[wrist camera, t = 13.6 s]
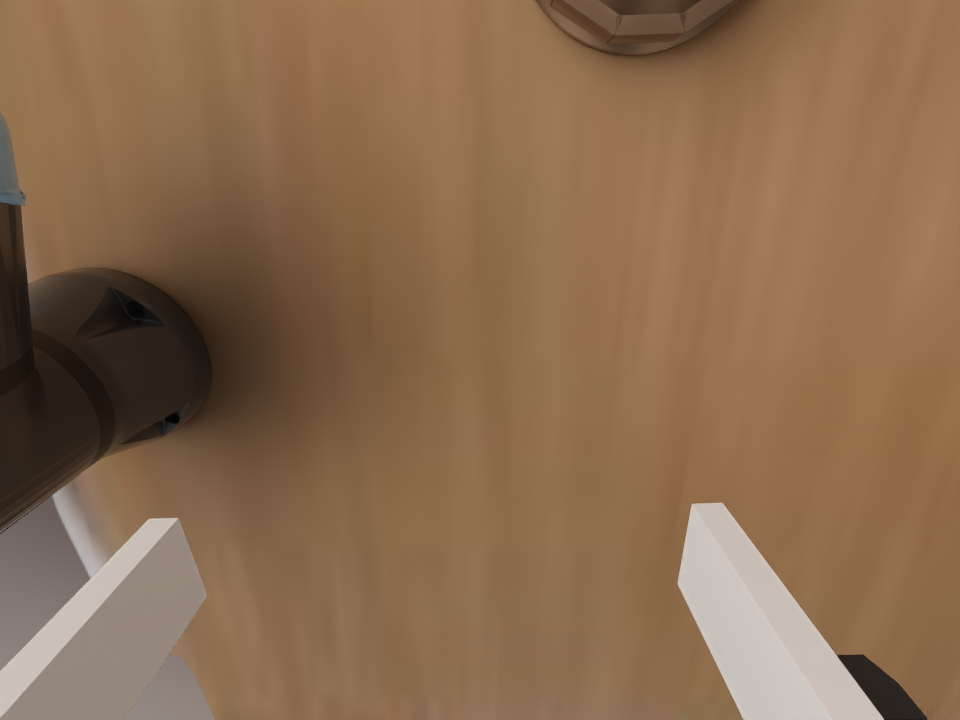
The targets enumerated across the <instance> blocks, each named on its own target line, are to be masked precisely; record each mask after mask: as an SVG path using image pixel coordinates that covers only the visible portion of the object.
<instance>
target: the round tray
mask: <svg viewBox="0 0 960 720" xmlns="http://www.w3.org/2000/svg"><path fill="white" fill-rule="evenodd" d="M536 1H537V2H538V4H539V5H540V7H541V8H542V9H543V11H544V12H545V14H546V15H547V16H548V17H549V18H550V19H551V20H552V21H553V22H554V23H555V24H556V25H557V26H558V27H559V28H560V29H561V30H563V31H564V32H565V33H566V34H568V35H569V36H570V37H571V38H573V39H575V40H577V41H578V42H580V43H582V44H584V45H585V46H588V47H590V48H593V49H596V50H598V51H601V52H606V53H611V54H616V55H632V56H635V55H644V54H651V53H655V52H659V51H663V50H666V49H669V48H672V47H674V46H676V45H679V44H681V43H683V42H685V41H687V40H689V39H690V38H692V37H694V36H696V35H697V34H699V33H701V32H702V31H704V30H705V29H706V28H708V27H709V26H710V25H712V24H713V23H714V22H716V21H717V20H718V19H720V18H721V17H722V16H723V15H724V14H725V13H726V12H727V11H728V10H730V9H731V8H732V7H733V6H734V5H735V4H736V3H737V2H738V1H739V0H536Z"/></svg>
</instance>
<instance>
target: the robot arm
mask: <svg viewBox="0 0 960 720" xmlns="http://www.w3.org/2000/svg"><path fill="white" fill-rule="evenodd" d="M25 200H26V196H25V194H24V193H23V192H22V191H21V190H20V189H19V185H18V179H17V173H16V167H15V160H14V154H13V148H12V142H11V135H10V131H9V128H8V125H7V122H6V120H5V118H4V117H3V115H2V114H1V112H0V534H1V533H2V532H4V531H5V530H6V529H8V528H9V527H10V526H12V525H13V524H14V523H16V522H17V521H18V520H20V519H21V518H22V517H23V516H25V515H26V514H28V513H29V512H30V511H32V510H33V509H34V508H35V507H37V506H38V505H39V504H41V503H42V502H44V501H45V500H46V499H47V498H49V497H50V496H51V495H53V494H54V493H55V492H57V491H58V490H59V489H61V488H62V487H63V486H65V485H66V484H67V483H69V482H70V481H71V480H73V479H74V478H75V477H77V476H78V475H79V474H81V473H82V472H83V471H84V470H86V469H87V468H88V467H90V466H91V465H93V464H94V463H95V462H97V461H98V460H100V459H101V458H103V457H106V456H109V455H112V454H115V453H118V452H121V451H124V450H127V449H130V448H133V447H136V446H139V445H142V444H145V443H148V442H151V441H154V440H157V439H160V438H162V437H164V436H166V435H168V434H170V433H171V432H173V431H174V430H176V429H177V428H179V427H180V426H181V425H182V424H183V423H185V422H186V421H187V420H188V419H190V418H191V417H192V416H193V415H194V414H195V413H196V412H197V411H198V410H199V408H200V407H201V406H202V404H203V402H204V401H205V399H206V396H207V394H208V390H209V386H210V378H211V370H210V362H209V357H208V353H207V350H206V347H205V344H204V342H203V340H202V338H201V336H200V334H199V332H198V330H197V329H196V327H195V326H194V324H193V323H192V321H191V320H190V319H189V317H188V316H187V315H186V314H185V313H184V311H183V310H182V309H181V308H180V307H179V306H178V305H177V304H176V303H175V302H174V301H172V300H171V299H170V298H169V297H168V296H166V295H165V294H164V293H162V292H161V291H160V290H158V289H157V288H155V287H153V286H152V285H150V284H148V283H146V282H144V281H142V280H140V279H138V278H136V277H134V276H131V275H128V274H125V273H122V272H118V271H114V270H109V269H102V268H81V269H75V270H70V271H66V272H62V273H57V274H53V275H49V276H46V277H43V278H40V279H38V280H36V281H34V282H32V283H30V284H28V282H27V270H26V259H25V248H24V237H23V226H22V215H21V206H23V205H25ZM678 586H679V588H680V590H681V592H682V594H683V596H684V598H685V600H686V602H687V604H688V606H689V608H690V610H691V613H692V615H693V617H694V619H695V621H696V623H697V625H698V627H699V629H700V631H701V633H702V635H703V637H704V639H705V641H706V643H707V645H708V647H709V650H710V652H711V654H712V656H713V658H714V660H715V662H716V664H717V666H718V668H719V670H720V672H721V674H722V676H723V678H724V680H725V682H726V684H727V687H728V689H729V691H730V693H731V695H732V697H733V699H734V701H735V703H736V705H737V707H738V709H739V711H740V713H741V715H742V717H743V719H744V720H927V717H926V716H925V715H924V714H923V713H922V711H921V710H920V709H919V708H918V707H917V705H916V704H915V703H914V702H913V701H912V699H911V698H910V697H909V696H908V694H907V693H906V692H905V691H904V690H903V688H902V687H901V686H900V685H899V684H898V683H897V682H896V681H895V680H894V679H892V678H891V677H890V676H889V675H887V674H886V673H885V672H884V671H883V670H881V669H880V668H879V667H878V666H876V665H875V664H874V663H873V662H872V661H870V660H869V659H868V658H867V657H865V656H864V655H836V654H835V653H834V652H833V650H832V649H831V648H830V646H829V645H828V644H827V642H826V641H825V640H824V638H823V637H822V636H821V634H820V633H819V631H818V630H817V629H816V627H815V626H814V625H813V623H812V622H811V621H810V619H809V618H808V617H807V615H806V614H805V613H804V611H803V610H802V609H801V607H800V606H799V605H798V603H797V602H796V601H795V599H794V598H793V597H792V595H791V594H790V593H789V591H788V590H787V589H786V587H785V586H784V585H783V583H782V582H781V581H780V579H779V578H778V577H777V575H776V574H775V573H774V571H773V570H772V569H771V567H770V566H769V565H768V563H767V562H766V561H765V559H764V558H763V556H762V555H761V554H760V552H759V551H758V550H757V548H756V547H755V546H754V544H753V543H752V542H751V540H750V539H749V538H748V536H747V535H746V534H745V532H744V531H743V530H742V528H741V527H740V526H739V524H738V523H737V522H736V520H735V519H734V518H733V516H732V515H731V514H730V512H729V511H728V510H727V508H726V507H725V506H724V504H723V503H697V504H692V506H691V512H690V517H689V523H688V528H687V534H686V539H685V545H684V550H683V556H682V561H681V567H680V572H679V578H678ZM206 597H207V593H206V591H205V588H204V585H203V583H202V580H201V577H200V575H199V572H198V569H197V566H196V564H195V561H194V558H193V556H192V553H191V550H190V548H189V545H188V542H187V539H186V537H185V534H184V531H183V529H182V526H181V523H180V521H179V518H160V519H148V520H147V521H146V523H145V524H144V525H143V526H142V527H141V528H140V529H139V530H138V531H137V532H136V533H135V534H134V535H133V536H132V537H131V538H130V539H129V540H128V541H127V542H126V543H125V544H124V545H123V546H122V547H121V548H120V549H119V550H118V551H117V552H116V553H115V554H114V555H113V556H112V557H111V558H110V559H109V560H108V561H107V563H106V564H105V565H104V566H103V567H102V568H101V569H100V570H99V571H98V572H97V573H96V574H95V575H94V576H93V577H92V578H91V579H90V580H89V581H88V582H87V583H86V584H85V585H84V586H83V587H82V588H81V589H80V590H79V591H78V592H77V593H76V594H75V595H74V596H73V598H71V599H70V600H69V602H68V603H67V604H66V605H65V606H64V607H63V608H62V609H61V610H60V611H59V612H58V613H57V614H56V615H55V616H54V617H53V618H52V619H51V620H50V621H49V622H48V623H47V624H46V625H45V626H44V627H43V628H42V629H41V630H40V631H39V632H38V633H37V634H36V635H35V636H34V637H33V638H32V639H31V640H30V641H29V643H28V644H27V645H26V646H25V647H24V648H23V649H22V650H21V651H20V652H19V653H18V654H17V655H16V656H15V657H14V658H13V659H12V660H11V661H10V662H9V663H8V664H7V665H6V666H5V667H4V668H3V669H2V670H1V671H0V720H126V719H127V717H128V716H129V714H130V713H131V711H132V710H133V708H134V706H135V705H136V703H137V702H138V701H139V699H140V697H141V696H142V694H143V693H144V691H145V690H146V688H147V686H148V685H149V684H150V682H151V681H152V679H153V678H154V676H155V675H156V673H157V672H158V670H159V668H160V667H161V665H162V664H163V662H164V661H165V659H166V658H167V656H168V655H169V653H170V652H171V650H172V649H173V647H174V646H175V644H176V643H177V641H178V640H179V638H180V636H181V635H182V633H183V632H184V630H185V629H186V627H187V626H188V624H189V623H190V621H191V620H192V618H193V617H194V615H195V614H196V612H197V611H198V609H199V607H200V606H201V604H202V603H203V601H204V600H205V598H206Z"/></svg>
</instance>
